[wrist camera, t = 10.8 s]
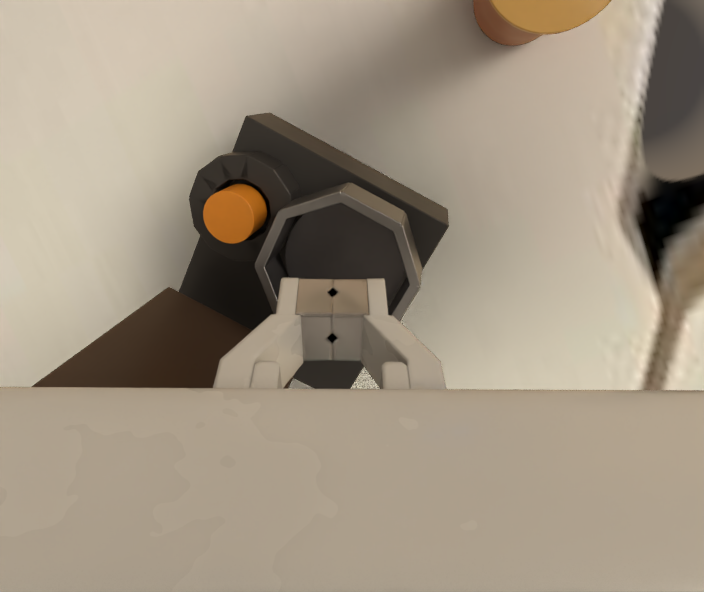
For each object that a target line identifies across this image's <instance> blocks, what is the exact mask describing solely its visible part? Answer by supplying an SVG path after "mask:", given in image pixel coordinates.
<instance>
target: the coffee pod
mask: <svg viewBox="0 0 704 592" xmlns="http://www.w3.org/2000/svg"><path fill="white" fill-rule="evenodd" d="M610 1H611V0H473V7H474V14H475V18H476V20H477V23H478V25H479V27H480V28H481V30H482V31H483V32H484V34H485V35H487V36H488V37H489V38H490V39H492V40H493V41H495V42H497V43H500V44H503V45H509V46H515V45H522V44H526V43H528V42H531V41H533V40H534V39H536V38H538V37H540V36H542V35H548V34H557V33H561V32H565V31H568V30H570V29H573V28H575V27H578V26H580V25H581V24H583V23H585V22H587V21H589V20H590V19H591V18H593V17H594V16H596V15H597V14H598V13H599V12H600V11H602V10H603V9H604V8H605V7H606V6H607V5H608V4H609V3H610Z"/></svg>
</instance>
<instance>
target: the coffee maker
mask: <svg viewBox="0 0 704 592" xmlns="http://www.w3.org/2000/svg"><path fill="white" fill-rule="evenodd" d="M302 214H304V215H303V216H302V217H301V218H300V219H299V220H298V221H297V223H296V224H295V225H294V227H293V229H292V230H291V232H290V235H289V237H288V241H287V245H286V254H285V255H286V265H287V270H288V273H289V276H290V278H327V279H372V278H384V280H385V287H386V297H387V302H388V301H389V300H390V298H391V297H392V296H393V295H394V294H395V292H396V291H397V289H398V287H399V285H400V283H401V281H402V278H403V274H404V269H405V272H406V275H407V278H406V279H405V281H404V283H403V284H402V286H401V288H400V289H399V291H398V293H397V294H396V296H395V298H394V299H393V301H392V303H391V304H390V306H389V308H388V315H391V316H394V317H395V318H396V319H397V320H398V321H400V320H401V318H402V317H403V315H404V313H405V312H406V310H407V308H408V307H409V305H410V304H411V302H412V300H413V299H414V297H415V295H416V294H417V292H418V291H419V289H420V285H421V275H422V266H421V262H420V259H419V255H418V252H417V249H416V245H415V242H414V238H413V235H412V231H411V228H410V225H409V221H408V218H407V214H406V213H405V212H404V211H403V210H401V209H399V208H398V207H396V206H394V205H392V204H390V203H388V202H386V201H385V200H383V199H381V198H379V197H377V196H375V195H374V194H372V193H370V192H368V191H366V190H364V189H362V188H361V187H359V186H357V185H355V184H353V183H349V182H348V183H345V184H342V185H338V186H335V187H332V188H329V189H325V190H322V191H319V192H316V193H313V194H309V195H306V196H303V197H300V198H297V199H294V200H293V201H291V202H290V203H289V204H287V205H286V206H285V207H283V208H282V209H281V210H280V211H278V213H277V215H276V217H275V220H274V222H273V224H272V226H271V229H270V231H269V233H268V236H267V238H266V240H265V242H264V245H263V247H262V249H261V251H260V254H259V256H258V258H257V260H256V263H255V269H256V272H257V274H258V277H259V279H260V281H261V284H262V286H263V289H264V291H265V294H266V296H267V299H268V301H269V304H270V306H271V309H272V311H273V314H276V309H277V303H278V296H279V289H280V282H281V279H282V277H287V278H289V276H288V274H287V271H286V269H285V266H284V263H283V261H282V258H281V256H280V253H279V252H280V250H281V248H282V246H283V243H284V241H285V239H286V237H287V235H288V233H289V230H290V228H291V226H292V224H293V222H294V220H295V217H296V216H299V215H302ZM251 332H252V330H251V329H249V328H247V327H245V326H243V325H241V324H239V323H237V322H235V321H233V320H231V319H230V318H228V317H226V316H224V315H222V314H220V313H218V312H216V311H214V310H212V309H210V308H209V307H207V306H205V305H203V304H201V303H199V302H197V301H195V300H193V299H191V298H189V297H188V296H186V295H184V294H182V293H180V292H178V291H176V290H174V289H172V288H170V287H168V288H167V289H165V290H164V291H162V292H161V293H160V294H158V295H157V296H156V297H154V298H153V299H151V300H150V301H149V302H147V303H146V304H145V305H143V306H142V307H140V308H139V309H138V310H136V311H135V312H134V313H132V314H131V315H129V316H128V317H127V318H125V319H124V320H123V321H121V322H120V323H118V324H117V325H116V326H114V327H113V328H112V329H110V330H109V331H107V332H106V333H105V334H103V335H102V336H101V337H99V338H98V339H96V340H95V341H94V342H92V343H91V344H90V345H88V346H87V347H85V348H84V349H83V350H81V351H80V352H79V353H77V354H76V355H74V356H73V357H72V358H70V359H69V360H68V361H66V362H65V363H63V364H62V365H61V366H59V367H58V368H57V369H55V370H54V371H52V372H51V373H50V374H48V375H47V376H46V377H44V378H43V379H41V380H40V381H39V382H37V383H36V384H35V385H33V386H32V387H96V388H213V385H214V381H215V377H216V374H217V370H218V366H219V362H220V359H221V358H222V357H223V356H224V355H226V354H227V353H228V352H229V351H230V350H231V349H232V348H234V347H235V346H236V345H237V344H238V343H239V342H240V341H241V340H243V339H244V338H245V337H246V336H247V335H248V334H249V333H251ZM295 373H296V372H295ZM294 375H295V374H294ZM294 375H293V376H292V378H291V379H290V380H289V381H288V383H287V384H286V385H285V386H284V388H283V389H288V387H289V385H290V383H291V381H292V379H293V377H294Z"/></svg>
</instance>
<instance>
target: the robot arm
mask: <svg viewBox="0 0 704 592" xmlns="http://www.w3.org/2000/svg"><path fill="white" fill-rule="evenodd" d="M321 360H338V361H361V363H362V364H363V366H364V367H365V368H366V370H367V371H368V373H369V374H370V375H371V377H372V378H373V379H374V381H375V382H376V383H377V385H378V386H379V388H380V389H283V388H284V386H285V385H286V384H287V383H288V381H289V380H290V379H291V378H292V376H293V375H294V374H295V372H296V371H297V370H298V369H299V367H300V366H301V365H302V364H303V361H321ZM0 592H704V391H700V390H476V389H446V385H445V380H444V375H443V369H442V364H441V361H440V360H439V359H438V358H437V357H436V356H435V355H434V354H433V353H432V352H431V351H430V350H429V349H428V348H427V347H425V346H424V345H423V344H422V343H421V342H420V341H419V340H418V339H417V338H416V337H415V336H414V335H413V334H412V333H411V332H410V331H409V330H408V329H407V328H406V327H405V326H404V325H403V324H401V323H400V322H399V321H398V320H397V319H396V318H395V317H394V316H391V315H388V306H387V297H386V287H385V280H384V278H372V279H327V278H287V277H282V279H281V282H280V289H279V296H278V303H277V309H276V314H271V315H270V316H269V317H267V318H266V319H265V320H264V321H263V322H262V323H261V324H260V325H258V326H257V327H256V328H255V329H254V330H253V331H252V332H251V333H249V334H248V335H247V336H246V337H245V338H244V339H243V340H241V341H240V342H239V343H238V344H237V345H236V346H235V347H234V348H232V349H231V350H230V351H229V352H228V353H227V354H226V355H224V356H223V357H222V358H221V359H220V362H219V366H218V370H217V374H216V377H215V381H214V385H213V388H96V387H0Z"/></svg>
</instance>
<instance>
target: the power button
mask: <svg viewBox="0 0 704 592" xmlns="http://www.w3.org/2000/svg"><path fill="white" fill-rule="evenodd" d="M266 217H267V206H266V203H265V200H264V198H263V196H262V195H261V194H260V193H259V192H258V191H257V190H256V189H255V188H253V187H251V186H249V185H246V184H235V185H232V186H230V187H227V188H225V189H223V190H221V191H219V192H216V193H214V194H213V195H212V196H210V197H209V198H208V200H207V201H206V203H205V205H204V210H203V219H204V223H205V225H206V227H207V229H208V231H209V232H210V233H211V234H212V235H213V236H214V237H215V238H216V239H218V240H220V241H222V242H225V243H229V244H235V243H240V242H242V241H244V240H245V239H247V238H248V237H249V236H251V235H252V234H253V233H254V232H256V231H257V230H258V229H260V228H261V227H262V226H263V224H264V222H265V220H266Z"/></svg>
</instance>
